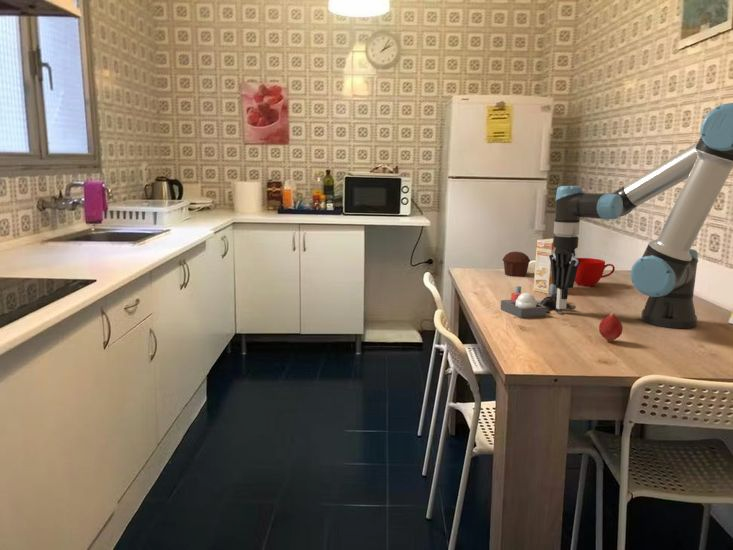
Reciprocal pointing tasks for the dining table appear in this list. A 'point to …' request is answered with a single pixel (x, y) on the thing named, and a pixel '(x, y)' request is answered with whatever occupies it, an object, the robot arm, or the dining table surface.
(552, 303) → the stuffed animal
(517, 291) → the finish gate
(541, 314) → the dome base
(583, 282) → the ceramic cup
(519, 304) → the dome
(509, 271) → the muffin
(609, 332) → the onion
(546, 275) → the coffeecake box
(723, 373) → the dining table surface
